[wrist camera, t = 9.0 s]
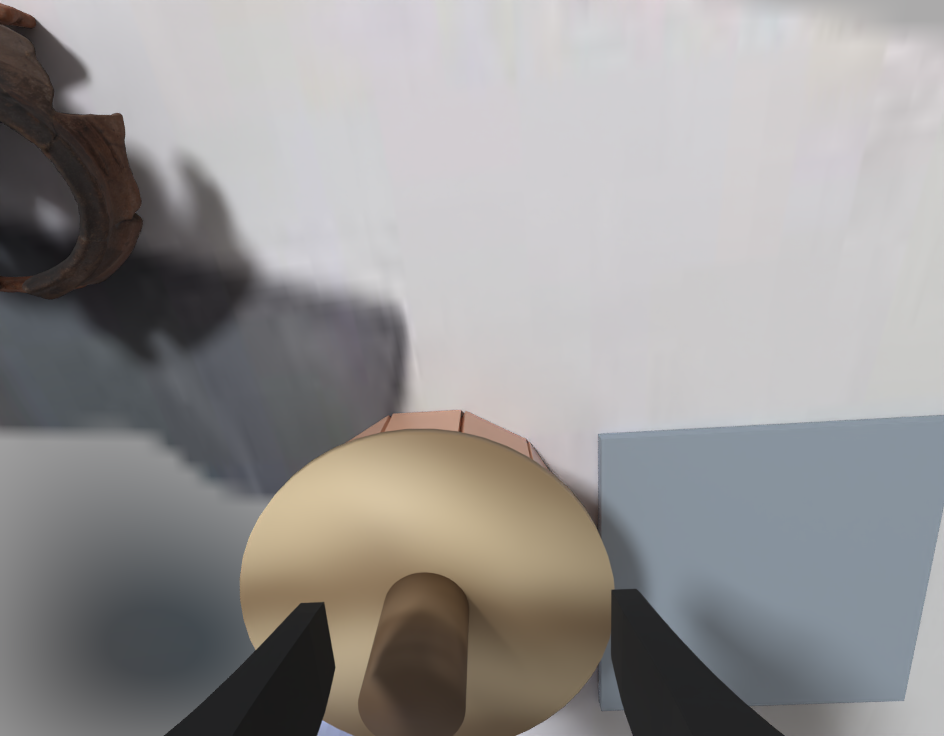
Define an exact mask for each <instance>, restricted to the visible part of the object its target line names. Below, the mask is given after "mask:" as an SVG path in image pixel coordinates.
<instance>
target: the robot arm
mask: <svg viewBox="0 0 944 736" xmlns="http://www.w3.org/2000/svg"><path fill="white" fill-rule="evenodd" d="M611 660H612V664H613V668H614V673H615V677H616V681H617V686H618V690H619V694H620V698H621V702H622V705H623V708H624V711H625V714H626V717H627V720H628V723H629V726H630V728H631V731H632V734H633V736H784V735H783V734H782V733H780V732H779V731H778V730H777V729H775V728H774V727H773V726H772V725H770V724H769V723H768V722H767V721H766V720H765V719H763V718H762V717H761V716H760V715H759V714H757V713H756V712H755V711H754V710H753V709H752V708H750V707H749V706H748V705H747V704H746V703H745V702H744V701H743V700H741V699H740V698H739V697H738V696H737V695H736V694H735V693H734V692H733V691H732V690H731V689H730V688H729V687H727V686H726V685H725V684H724V683H723V682H722V681H721V680H720V679H719V678H718V677H717V676H716V675H715V674H714V673H713V672H712V671H711V670H710V669H709V668H708V667H707V666H706V665H705V664H704V663H703V662H702V661H701V660H700V659H699V658H698V657H697V656H696V655H695V654H694V653H693V652H692V650H691V649H690V648H689V647H688V646H687V645H686V644H685V643H684V642H683V641H682V640H681V639H680V638H679V637H678V636H677V634H676V633H675V632H674V631H673V630H672V629H671V628H670V627H669V625H668V624H667V623H666V622H665V621H664V620H663V619H662V617H661V616H660V615H659V614H658V613H657V612H656V610H655V609H654V608H653V607H652V606H651V605H650V603H649V602H648V601H647V600H646V598H645V597H644V596H643V595H642V594H641V592H639V591H638V590H637V589H615V590H611ZM335 668H336V667H335V661H334V655H333V649H332V644H331V638H330V632H329V626H328V621H327V615H326V609H325V603H324V602H310V603H300V604H299V605H298V606H297V607H296V608H295V609H294V610H293V611H292V612H291V613H290V614H289V616H288V617H287V618H286V619H285V620H284V621H283V622H282V623H281V624H280V625H279V626H278V627H277V628H276V629H275V630H274V631H273V633H272V634H271V635H270V636H269V637H268V638H267V639H266V640H265V641H264V642H263V643H262V644H261V645H260V646H259V647H258V648H257V649H256V650H255V651H254V653H253V654H252V655H251V656H250V657H249V658H248V659H247V660H246V661H245V662H244V663H243V664H242V665H241V666H240V667H239V668H238V669H237V670H236V671H235V672H234V673H233V674H232V675H231V676H230V677H229V678H228V679H227V680H226V681H225V682H224V683H222V684H221V685H220V686H219V688H217V689H216V690H215V691H214V692H213V693H212V694H211V695H210V696H209V697H208V698H207V699H206V700H205V701H204V702H203V703H201V704H200V705H199V706H198V707H197V708H196V709H195V710H194V711H193V712H191V713H190V714H189V715H188V716H187V717H186V718H185V719H183V720H182V721H181V722H180V723H179V724H177V725H176V726H175V727H174V728H173V729H171V730H170V731H169V732H168V733H167V734H166V735H164V736H353V735H351V734H349V733H346V732H344V731H342V730H339V729H337V728H335V727H334V726H332V725H330V724H328V723H326V722H325V721H323V717H324V714H325V711H326V707H327V703H328V699H329V695H330V690H331V686H332V681H333V677H334V672H335Z"/></svg>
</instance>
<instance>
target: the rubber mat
mask: <svg viewBox="0 0 944 736" xmlns="http://www.w3.org/2000/svg"><path fill="white" fill-rule="evenodd" d="M943 507H944V415H937V416H919V417H900V418H882V419H864V420H845V421H827V422H809V423H790V424H772V425H754V426H735V427H717V428H699V429H681V430H662V431H644V432H626V433H607V434H598V522H599V535H600V537H601V540H602V542H603V544H604V547H605V549H606V552H607V554H608V557H609V561H610V565H611V569H612V573H613V577H614V588H615V589H637V590H638V591H639V592H641V594H642V595H643V596H644V597H645V598H646V600H647V601H648V602H649V603H650V605H651V606H652V607H653V608H654V609H655V610H656V612H657V613H658V614H659V615H660V616H661V617H662V619H663V620H664V621H665V622H666V623H667V624H668V625H669V627H670V628H671V629H672V630H673V631H674V632H675V633H676V634H677V636H678V637H679V638H680V639H681V640H682V641H683V642H684V643H685V644H686V645H687V646H688V647H689V648H690V649H691V650H692V652H693V653H694V654H695V655H696V656H697V657H698V658H699V659H700V660H701V661H702V662H703V663H704V664H705V665H706V666H707V667H708V668H709V669H710V670H711V671H712V672H713V673H714V674H715V675H716V676H717V677H718V678H719V679H720V680H721V681H722V682H723V683H724V684H725V685H726V686H727V687H729V688H730V689H731V690H732V691H733V692H734V693H735V694H736V695H737V696H738V697H739V698H740V699H741V700H743V701H744V702H745V703H746V704H747V705H748V706H764V705H794V704H824V703H854V702H884V701H904V699H905V694H906V689H907V684H908V679H909V674H910V669H911V664H912V659H913V655H914V650H915V645H916V640H917V635H918V630H919V625H920V620H921V615H922V610H923V606H924V601H925V596H926V591H927V586H928V581H929V576H930V571H931V566H932V561H933V556H934V552H935V547H936V542H937V537H938V532H939V527H940V522H941V517H942V512H943ZM599 703H600V707H601V711H614V710H624V708H623V705H622V702H621V698H620V694H619V690H618V686H617V681H616V677H615V673H614V668H613V664H612V660H611V634H610V639H609V642H608V644H607V647H606V649H605V652H604V654H603V657H602V659H601V661H600V662H599Z"/></svg>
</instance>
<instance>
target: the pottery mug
mask: <svg viewBox="0 0 944 736" xmlns="http://www.w3.org/2000/svg"><path fill="white" fill-rule="evenodd" d="M4 25H13V26H20V27H26V28H33V27H35V26H36V21H35V18H34V17H32V16H31V15H29V14H27V13H23V12H22V11H20V10H17V9H15V8H13V7H10V6H7V5H4V4H1V3H0V122H1V123H3V124H5V125H6V126H8V127H10V128H11V129H13V130H15V131H16V132H18V133H19V134H21V135H22V136H23V137H24V138H26V139H27V140H29V141H30V142H32V143H34V144H35V145H36V146H37V147H38V148H40V149H41V151H42V152H43V153H44V155H45V156H46V157H47V158H48V159H49V160H50V161H51V162H52V163H53V164H54V165H55V167H56V169H57V170H58V172H59V173H60V174H61V175H62V177H63V178H64V180H65V181H66V182H67V184H68V186H69V187H70V189H71V191H72V193H73V195H74V197H75V200H76V202H77V204H78V209H79V214H80V234H79V236H78V239H77V243H76V245H75V247H74V249H73V251H72V252H71V254H70V256H69V257H68V258H67V259H66V260H64V261H62V262H61V263H60V264H58V265H57V266H55V267H53V268H51V269H49V270H47V271H44V272H41V273H39V274H36V275H34V276H25V277H4V276H0V291H4V292H24V293H28V294H31V295H35V296H38V297H42V298H45V299H55V298H59V297H61V296H63V295H65V294H66V293H68V292H70V291H72V290H74V289H78V288H83V287H85V286H87V285H88V284H97V283H100V282H102V281H105V280H106V279H107V278H108V277H109V276H111V275H112V274H113V273H114V272H116V270H117V269H118V268H119V267H120V266H121V265H122V264H123V263H124V262H125V260H126V259H127V258H128V257H129V255H130V254H131V252H132V250H133V249H134V247H135V244H136V242H137V239H138V237H139V234H140V232H141V229H142V225H143V220H142V218H141V217H140V216H139V215H138V214H136V213H135V212H136V211H137V210H138V209H139V208H140V206H141V203H142V201H141V197H140V193H139V189H138V186H137V184H136V182H135V180H134V178H133V174H132V172H131V170H130V167H129V163H128V159H127V154H126V147H125V142H124V140H125V126H124V121H123V116H122V115H121V114H120V113H114V114H112V115H94V114H87V115H79V114H66V113H60V112H56V111H55V110H54V109H53V107H52V102H53V96H54V89H53V87H52V84H51V82H50V79H49V76H48V74H47V73H46V71H45V70H44V68H43V67H42V66H41V64H40V63H39V62H38V60H37V58H36V54H35V49H34V46H33V44H32V43H31V42H30V40H28V39H27V38H26V37H24V36H22V35H20V34H19V33H17V32H15V31H13V30H12V29H10V28H8V27H6V26H4Z"/></svg>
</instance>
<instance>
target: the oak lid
mask: <svg viewBox="0 0 944 736" xmlns="http://www.w3.org/2000/svg"><path fill="white" fill-rule="evenodd" d="M611 590H615V588H614V577H613V573H612V569H611V565H610V561H609V557H608V554H607V552H606V549H605V547H604V544H603V542H602V540H601V537H600V535H599V532H598V530H597V528H596V526H595V524H594V522H593V521H592V519H591V517H590V516H589V514H588V512H587V511H586V509H585V507H584V506H583V505H582V504H581V502H580V501H579V500H578V499H577V498H576V496H575V495H574V494H573V493H572V492H571V490H570V489H569V488H568V487H567V486H566V485H565V484H563V483H562V482H561V481H560V480H559V479H558V478H557V477H556V476H555V475H554V474H553V473H551V472H550V471H549V470H547V469H546V468H544V467H543V466H541V465H540V464H539V463H537V462H536V461H534V460H533V459H531V458H530V457H528V456H526V455H524V454H522V453H520V452H518V451H516V450H514V449H512V448H510V447H508V446H506V445H503V444H500V443H498V442H495V441H492V440H490V439H487V438H484V437H480V436H476V435H472V434H467V433H463V432H459V431H450V430H441V429H402V430H394V431H386V432H380V433H376V434H372V435H369V436H365V437H361V438H357V439H355V440H352V441H350V442H347V443H345V444H342V445H340V446H337V447H335V448H333V449H331V450H329V451H328V452H326V453H324V454H322V455H321V456H319V457H317V458H315V459H314V460H312V461H311V462H310V463H308V464H307V465H306V466H304V467H303V468H302V469H301V470H299V471H298V472H297V473H295V474H294V475H293V476H292V477H291V478H290V479H289V480H288V481H287V482H286V483H285V485H284V486H283V487H282V488H281V489H280V490H279V491H278V492H277V493H276V495H275V496H274V497H273V498H272V500H271V501H270V503H269V504H268V505H267V507H266V508H265V510H264V511H263V512H262V514H261V515H260V517H259V518H258V520H257V522H256V524H255V526H254V529H253V531H252V533H251V534H250V536H249V540H248V543H247V546H246V549H245V552H244V555H243V560H242V567H241V575H240V600H241V606H242V612H243V618H244V622H245V625H246V628H247V631H248V634H249V637H250V640H251V642H252V644H253V646H254V648H255V650H256V649H257V648H258V647H259V646H260V645H261V644H262V643H263V642H264V641H265V640H266V639H267V638H268V637H269V636H270V635H271V634H272V633H273V631H274V630H275V629H276V628H277V627H278V626H279V625H280V624H281V623H282V622H283V621H284V620H285V619H286V618H287V617H288V616H289V614H290V613H291V612H292V611H293V610H294V609H295V608H296V607H297V606H298V605H299V604H300V603H310V602H324V603H325V609H326V615H327V621H328V626H329V632H330V638H331V644H332V649H333V655H334V661H335V667H336V668H335V672H334V677H333V681H332V686H331V690H330V695H329V699H328V703H327V707H326V711H325V714H324V717H323V721H325V722H326V723H328V724H330V725H332V726H334V727H335V728H337V729H339V730H342V731H344V732H346V733H349V734H351V735H353V736H516V735H518V734H520V733H523V732H525V731H527V730H529V729H531V728H533V727H535V726H536V725H538V724H540V723H542V722H543V721H545V720H547V719H548V718H550V717H551V716H552V715H554V714H555V713H556V712H558V711H559V710H560V709H562V708H563V707H564V706H565V705H566V704H567V703H568V702H569V701H570V700H571V699H572V698H573V697H574V696H575V695H576V694H578V693H579V691H580V690H581V689H582V688H583V686H584V685H585V684H586V682H587V681H588V680H589V679H590V677H591V676H592V674H593V673H594V671H595V669H596V668H597V666H598V664H599V662H600V661H601V659H602V657H603V654H604V652H605V649H606V647H607V644H608V642H609V639H610V634H611Z"/></svg>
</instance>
